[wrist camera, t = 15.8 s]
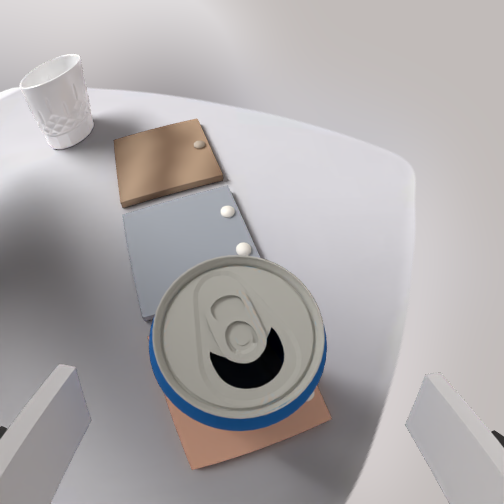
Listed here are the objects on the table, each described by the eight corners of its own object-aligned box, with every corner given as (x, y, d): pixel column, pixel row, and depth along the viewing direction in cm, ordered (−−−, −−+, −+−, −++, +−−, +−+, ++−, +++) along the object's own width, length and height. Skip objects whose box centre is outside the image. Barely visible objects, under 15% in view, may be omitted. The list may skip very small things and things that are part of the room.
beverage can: (210, 440, 18) (182, 461, 8) (174, 355, 21) (118, 280, 10) (299, 403, 20) (370, 375, 9) (259, 322, 22) (283, 222, 12)
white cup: (36, 141, 33) (11, 83, 25) (80, 109, 37) (63, 51, 28) (60, 161, 31) (32, 93, 23) (109, 124, 35) (92, 57, 26)
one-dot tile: (122, 207, 28) (119, 201, 27) (115, 145, 33) (113, 138, 32) (223, 180, 30) (222, 173, 29) (197, 123, 35) (197, 117, 34)
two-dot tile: (145, 321, 23) (142, 316, 22) (124, 220, 27) (121, 213, 26) (268, 282, 25) (270, 277, 24) (227, 191, 30) (227, 184, 29)
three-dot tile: (193, 468, 17) (191, 470, 17) (150, 339, 22) (146, 335, 21) (328, 419, 20) (332, 418, 19) (275, 299, 24) (277, 294, 23)
